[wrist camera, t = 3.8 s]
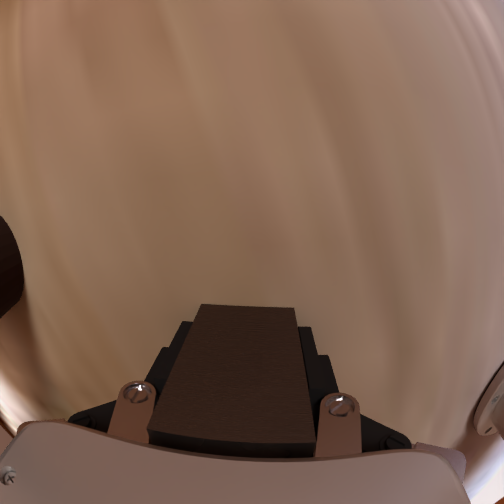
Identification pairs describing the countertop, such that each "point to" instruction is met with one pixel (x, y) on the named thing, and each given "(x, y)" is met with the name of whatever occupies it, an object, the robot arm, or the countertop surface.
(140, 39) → the countertop surface
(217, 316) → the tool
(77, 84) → the countertop surface
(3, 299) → the coffee mug
